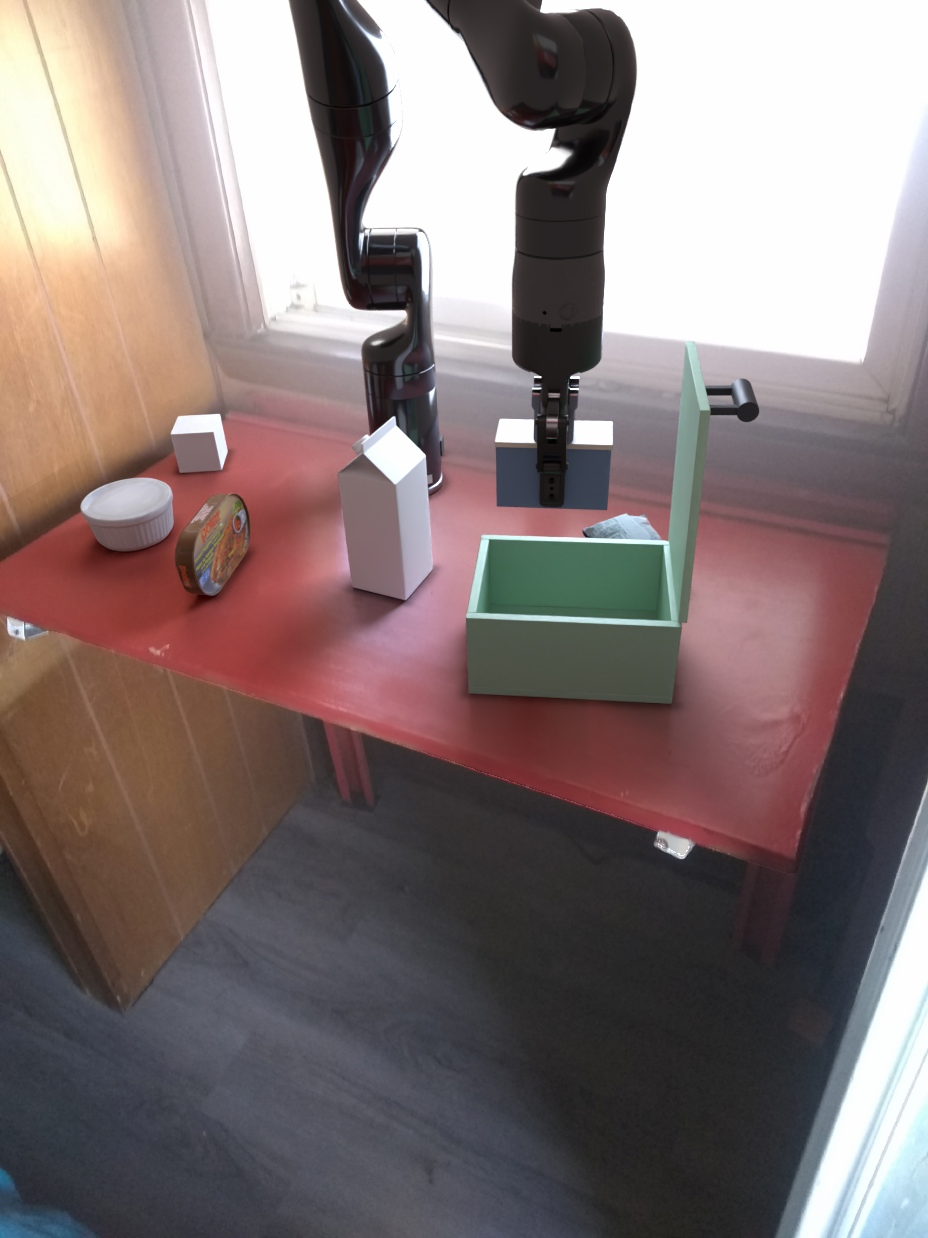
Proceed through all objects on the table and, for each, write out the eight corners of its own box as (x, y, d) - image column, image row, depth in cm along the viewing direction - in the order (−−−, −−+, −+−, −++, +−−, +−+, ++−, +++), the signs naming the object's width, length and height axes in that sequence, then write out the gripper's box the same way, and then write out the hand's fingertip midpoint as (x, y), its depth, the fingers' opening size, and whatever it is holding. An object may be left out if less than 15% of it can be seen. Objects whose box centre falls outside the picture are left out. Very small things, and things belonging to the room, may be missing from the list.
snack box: (500, 482, 88) (499, 418, 84) (608, 485, 86) (612, 421, 83) (495, 507, 84) (494, 442, 80) (608, 511, 83) (613, 444, 79)
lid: (700, 410, 71) (772, 410, 70) (685, 341, 83) (747, 340, 82) (678, 623, 83) (739, 624, 83) (668, 536, 95) (721, 537, 94)
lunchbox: (468, 693, 91) (465, 618, 86) (483, 606, 103) (481, 534, 98) (671, 704, 89) (682, 627, 84) (663, 613, 101) (671, 540, 95)
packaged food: (645, 533, 114) (648, 498, 111) (688, 585, 105) (693, 548, 102) (579, 546, 113) (580, 511, 110) (617, 600, 103) (619, 563, 100)
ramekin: (108, 512, 123) (98, 476, 120) (191, 510, 123) (182, 475, 119) (77, 557, 114) (65, 521, 111) (166, 557, 114) (156, 520, 110)
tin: (207, 610, 104) (191, 547, 99) (181, 608, 105) (164, 545, 100) (256, 540, 116) (245, 480, 111) (233, 538, 117) (220, 479, 111)
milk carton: (433, 569, 109) (423, 421, 98) (405, 602, 104) (392, 449, 93) (381, 557, 112) (366, 411, 100) (351, 588, 107) (331, 438, 95)
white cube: (227, 451, 136) (220, 413, 133) (221, 470, 132) (213, 431, 128) (186, 453, 136) (178, 415, 133) (179, 472, 131) (170, 434, 128)
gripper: (518, 277, 81) (518, 454, 91) (503, 335, 69) (505, 530, 80) (605, 278, 80) (595, 456, 90) (604, 336, 68) (593, 533, 79)
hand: (553, 490), depth 85 cm, fingers closed on snack box, 4 cm apart
